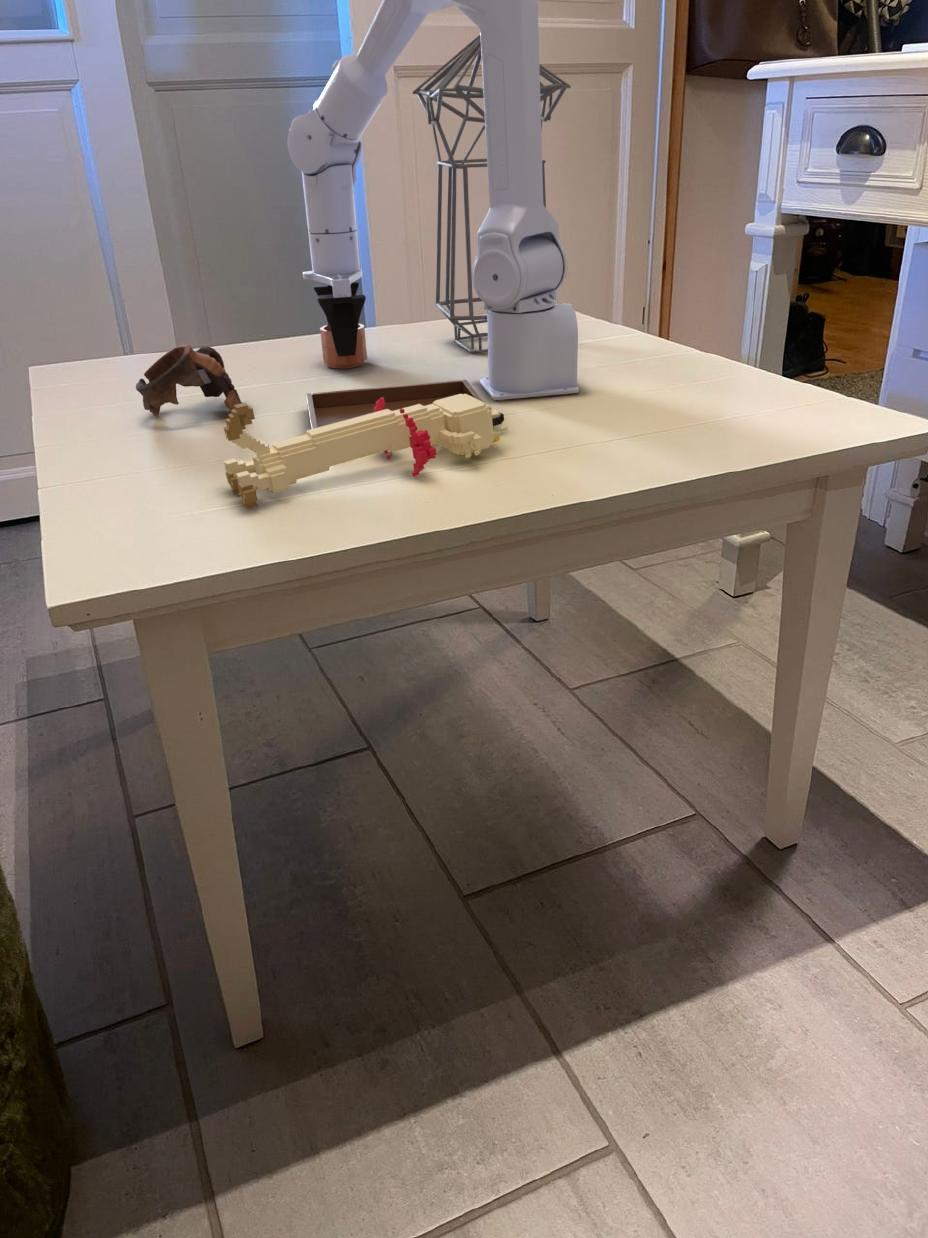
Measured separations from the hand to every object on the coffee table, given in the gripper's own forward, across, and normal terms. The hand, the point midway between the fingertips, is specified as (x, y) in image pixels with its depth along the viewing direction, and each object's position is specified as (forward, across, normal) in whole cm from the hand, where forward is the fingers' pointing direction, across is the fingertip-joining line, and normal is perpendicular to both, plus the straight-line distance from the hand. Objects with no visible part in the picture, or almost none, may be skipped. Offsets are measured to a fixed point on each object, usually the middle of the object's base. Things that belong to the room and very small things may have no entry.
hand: (343, 348), depth 117 cm
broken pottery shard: (+2, +17, -17) cm, 24 cm away
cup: (+2, 0, 0) cm, 2 cm away
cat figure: (+2, +41, 0) cm, 41 cm away
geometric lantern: (+2, -4, +20) cm, 21 cm away
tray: (+2, +27, +3) cm, 27 cm away
